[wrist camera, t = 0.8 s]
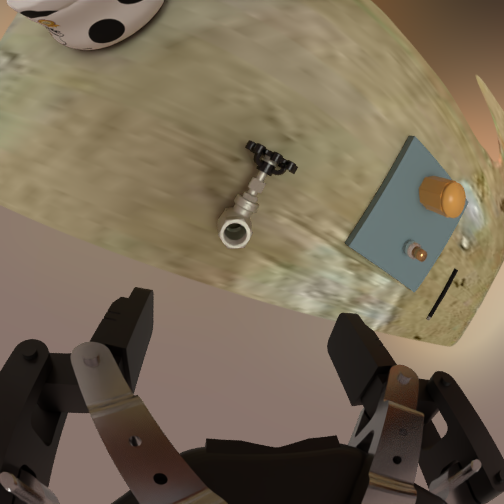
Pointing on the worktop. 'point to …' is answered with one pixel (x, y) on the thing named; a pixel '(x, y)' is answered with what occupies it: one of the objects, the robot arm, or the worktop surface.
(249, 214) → the valve
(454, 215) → the cap
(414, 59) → the worktop surface
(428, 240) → the board
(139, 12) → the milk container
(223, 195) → the worktop surface
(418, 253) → the peg
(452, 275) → the black thin rod
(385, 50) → the worktop surface
